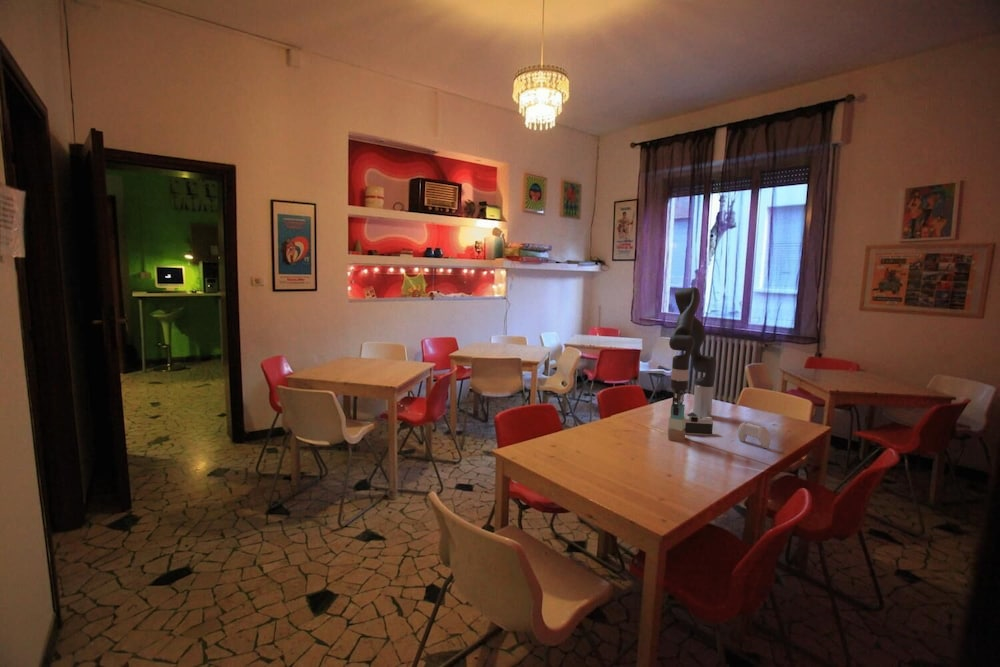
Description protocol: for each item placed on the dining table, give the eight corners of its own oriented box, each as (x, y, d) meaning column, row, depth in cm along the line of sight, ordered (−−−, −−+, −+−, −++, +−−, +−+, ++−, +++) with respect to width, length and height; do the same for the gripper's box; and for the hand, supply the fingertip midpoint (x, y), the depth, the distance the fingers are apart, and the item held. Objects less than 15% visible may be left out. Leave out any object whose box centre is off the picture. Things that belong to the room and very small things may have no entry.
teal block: (672, 415, 221) (673, 403, 220) (683, 417, 218) (684, 404, 217) (670, 418, 216) (671, 405, 216) (681, 419, 214) (682, 406, 213)
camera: (708, 430, 232) (709, 410, 231) (714, 436, 223) (715, 415, 222) (675, 428, 234) (676, 409, 233) (679, 434, 225) (680, 413, 224)
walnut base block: (667, 435, 223) (668, 425, 222) (683, 437, 221) (684, 426, 220) (668, 440, 216) (669, 429, 216) (684, 441, 214) (685, 431, 214)
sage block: (672, 425, 222) (672, 415, 222) (685, 427, 219) (685, 417, 218) (668, 428, 217) (669, 417, 217) (681, 430, 214) (682, 420, 213)
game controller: (771, 449, 206) (773, 427, 205) (765, 451, 204) (767, 428, 203) (740, 440, 218) (741, 419, 217) (734, 441, 216) (736, 420, 215)
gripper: (674, 375, 223) (672, 408, 225) (667, 380, 211) (665, 415, 213) (690, 377, 220) (688, 411, 221) (685, 382, 207) (683, 418, 209)
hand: (677, 413), depth 217 cm, fingers open, 8 cm apart
